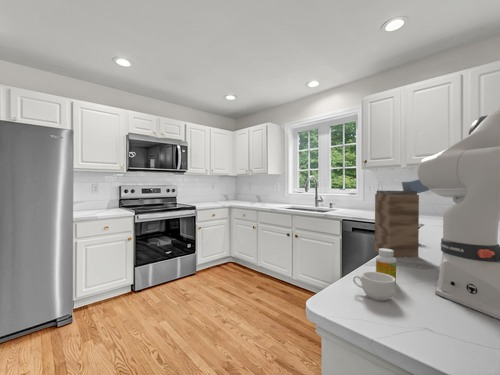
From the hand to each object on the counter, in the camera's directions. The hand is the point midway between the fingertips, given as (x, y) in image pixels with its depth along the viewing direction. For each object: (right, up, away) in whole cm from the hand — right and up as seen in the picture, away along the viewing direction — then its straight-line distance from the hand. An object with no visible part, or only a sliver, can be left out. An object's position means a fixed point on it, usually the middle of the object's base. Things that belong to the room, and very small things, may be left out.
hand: (441, 181), depth 111 cm
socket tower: (-22, -32, -3) cm, 39 cm away
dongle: (-5, -3, -1) cm, 6 cm away
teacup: (-53, -31, -46) cm, 77 cm away
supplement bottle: (-44, -32, -36) cm, 65 cm away
